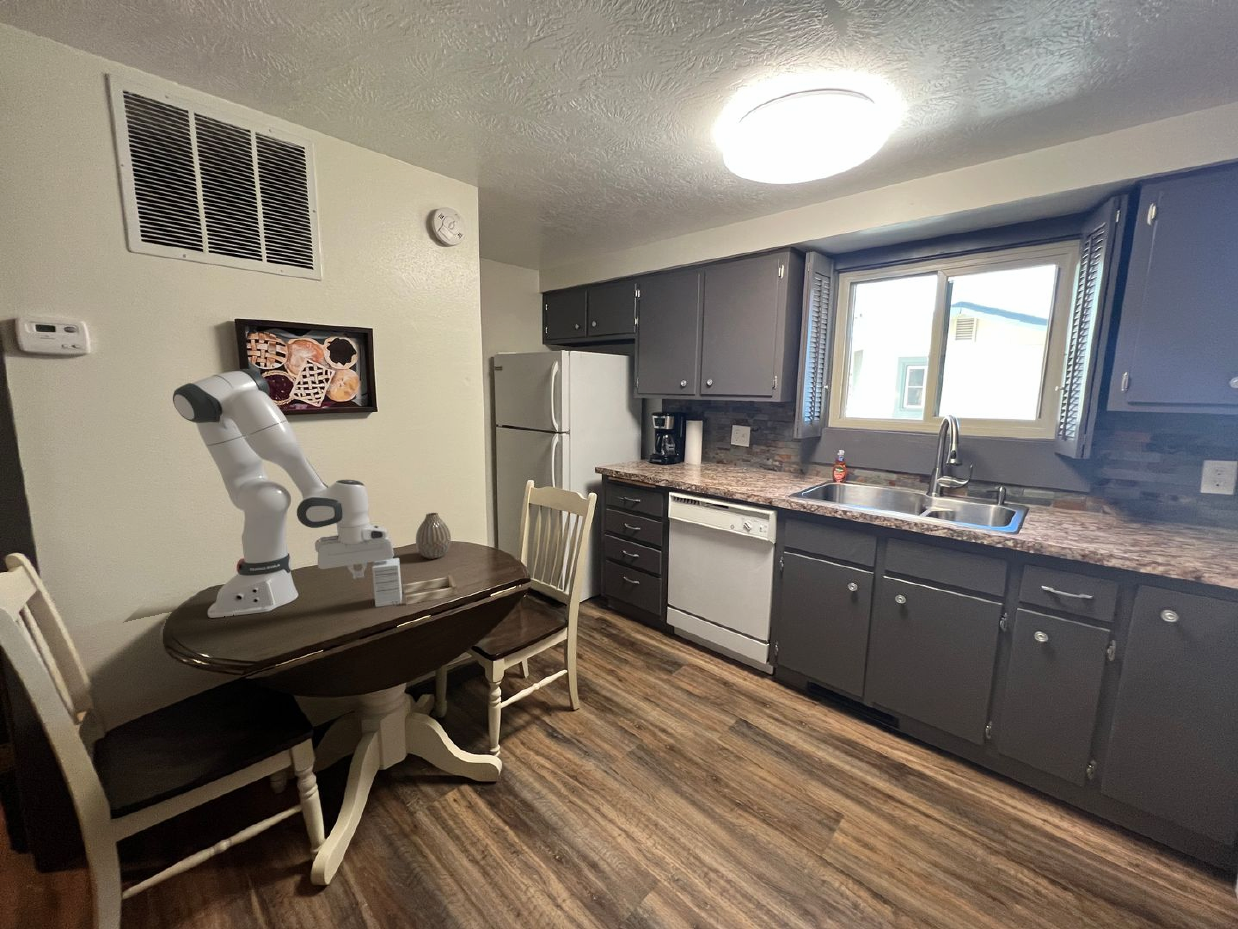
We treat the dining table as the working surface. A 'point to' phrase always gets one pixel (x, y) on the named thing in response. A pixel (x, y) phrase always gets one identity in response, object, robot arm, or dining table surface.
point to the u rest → (431, 594)
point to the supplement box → (387, 582)
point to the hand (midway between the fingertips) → (358, 577)
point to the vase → (433, 537)
